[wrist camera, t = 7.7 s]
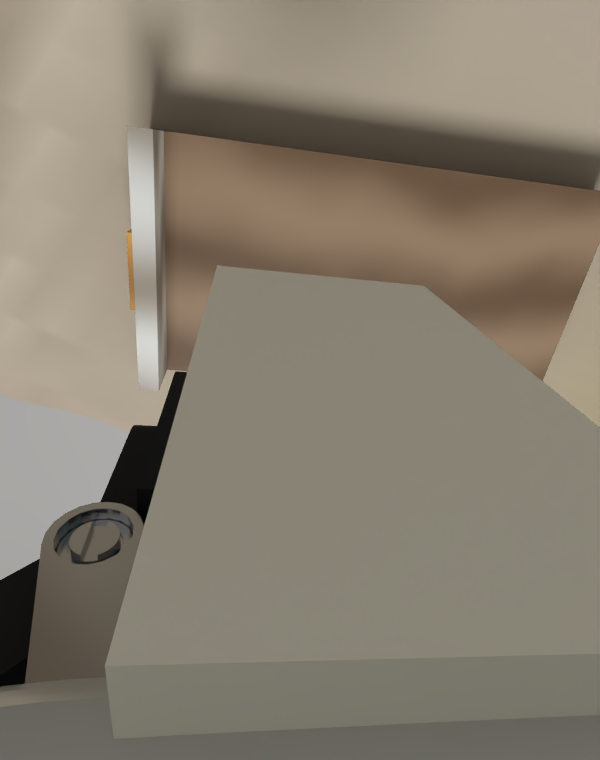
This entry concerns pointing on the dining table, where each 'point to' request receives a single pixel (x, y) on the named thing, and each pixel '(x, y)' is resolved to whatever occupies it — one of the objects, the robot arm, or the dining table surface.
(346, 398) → the carton
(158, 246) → the shelf board
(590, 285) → the dining table surface
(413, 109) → the dining table surface
